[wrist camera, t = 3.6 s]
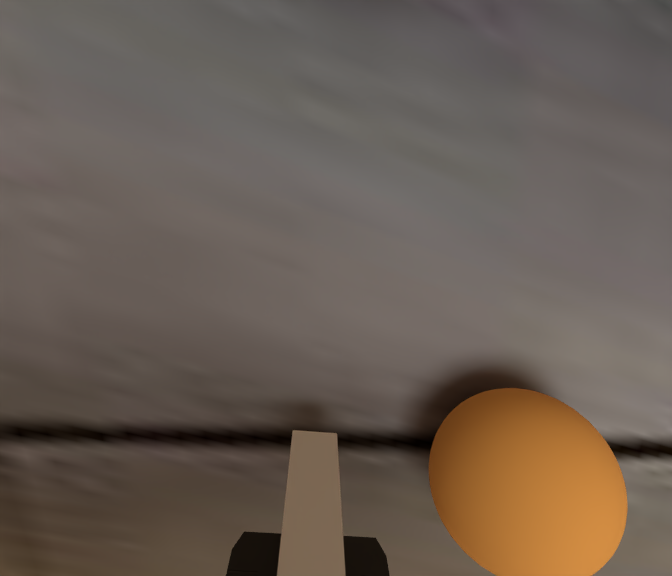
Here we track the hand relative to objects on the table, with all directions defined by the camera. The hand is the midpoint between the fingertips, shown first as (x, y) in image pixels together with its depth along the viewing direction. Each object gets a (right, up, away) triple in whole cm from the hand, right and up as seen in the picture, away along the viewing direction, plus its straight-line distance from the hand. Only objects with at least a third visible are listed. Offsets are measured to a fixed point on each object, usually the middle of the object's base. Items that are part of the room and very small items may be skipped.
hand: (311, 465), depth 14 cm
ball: (+7, 0, 0) cm, 7 cm away
